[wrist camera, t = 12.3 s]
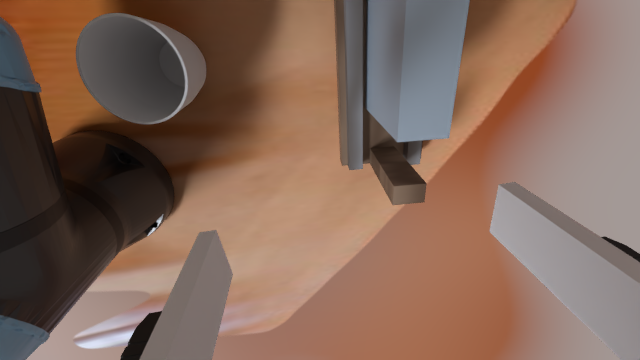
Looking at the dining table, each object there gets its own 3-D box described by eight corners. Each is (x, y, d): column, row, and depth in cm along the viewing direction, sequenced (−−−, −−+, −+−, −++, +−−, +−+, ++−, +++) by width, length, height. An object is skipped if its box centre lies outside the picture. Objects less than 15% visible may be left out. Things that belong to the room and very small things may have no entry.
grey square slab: (365, 108, 32) (397, 142, 21) (366, -19, 27) (410, -59, 16) (399, 105, 32) (448, 138, 21) (408, -22, 27) (479, -63, 16)
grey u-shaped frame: (340, 159, 37) (355, 208, 26) (330, -107, 25) (350, -216, 14) (415, 153, 37) (460, 199, 26) (439, -114, 25) (540, -228, 15)
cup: (140, 87, 31) (76, 105, 23) (147, 8, 28) (74, -7, 19) (213, 110, 33) (180, 136, 24) (227, 39, 30) (195, 38, 21)
